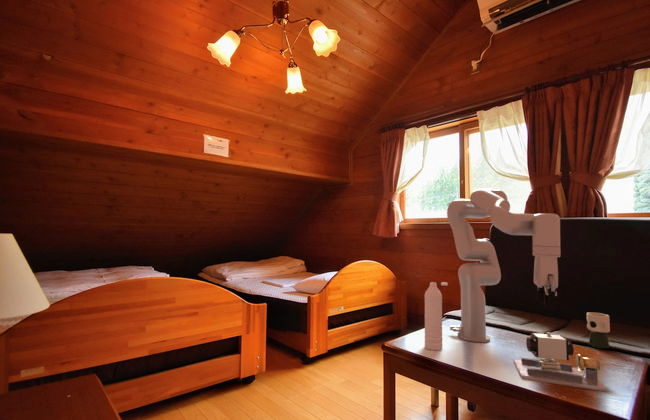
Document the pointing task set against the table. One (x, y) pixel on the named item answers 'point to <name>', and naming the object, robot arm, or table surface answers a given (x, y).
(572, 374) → the manifold plate
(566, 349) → the pneumatic valve
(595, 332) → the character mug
